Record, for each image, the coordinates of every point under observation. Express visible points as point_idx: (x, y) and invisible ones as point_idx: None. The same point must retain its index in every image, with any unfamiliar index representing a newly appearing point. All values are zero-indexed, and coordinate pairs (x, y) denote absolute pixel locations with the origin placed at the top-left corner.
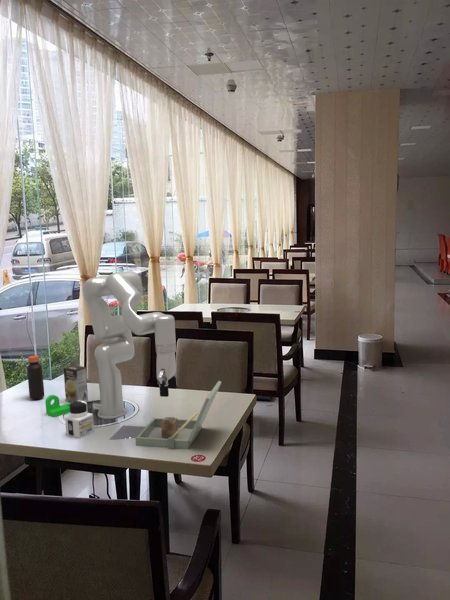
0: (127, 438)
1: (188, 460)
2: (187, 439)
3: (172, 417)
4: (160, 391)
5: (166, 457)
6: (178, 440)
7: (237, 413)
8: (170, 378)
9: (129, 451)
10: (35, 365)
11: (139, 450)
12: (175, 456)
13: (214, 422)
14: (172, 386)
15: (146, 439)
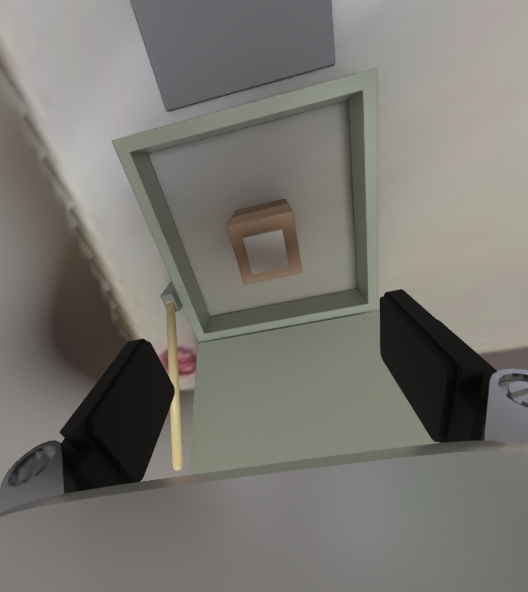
0: (168, 35)
1: (155, 348)
2: (208, 336)
3: (286, 259)
4: (109, 378)
5: (135, 292)
6: (188, 316)
7: (507, 340)
8: (455, 400)
9: (87, 141)
10: None
11: (119, 178)
12: (155, 311)
13: (425, 308)
14: (388, 342)
15: (138, 198)
